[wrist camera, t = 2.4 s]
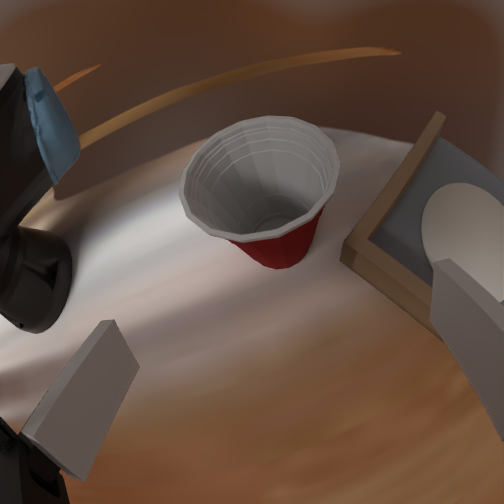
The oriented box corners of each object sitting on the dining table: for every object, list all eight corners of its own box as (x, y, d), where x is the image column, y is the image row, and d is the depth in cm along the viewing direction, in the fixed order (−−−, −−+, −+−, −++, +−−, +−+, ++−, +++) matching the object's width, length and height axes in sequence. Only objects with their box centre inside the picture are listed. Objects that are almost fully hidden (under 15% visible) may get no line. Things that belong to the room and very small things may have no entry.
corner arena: (339, 260, 26) (343, 241, 22) (428, 134, 30) (436, 110, 26) (496, 388, 17) (521, 388, 14) (549, 231, 21) (567, 215, 17)
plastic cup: (286, 177, 31) (268, 91, 20) (356, 245, 27) (376, 166, 16) (206, 237, 30) (152, 168, 20) (268, 317, 26) (232, 279, 15)
